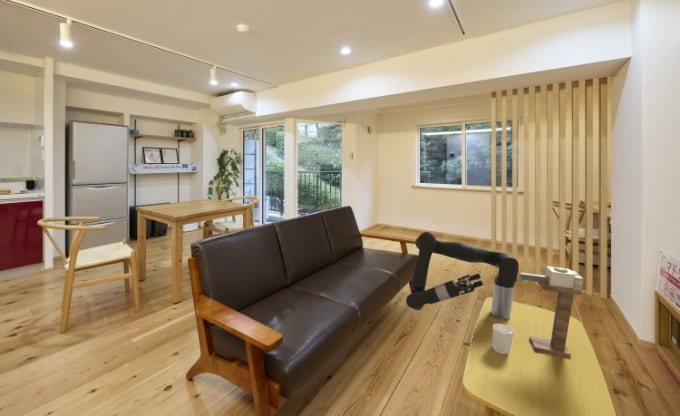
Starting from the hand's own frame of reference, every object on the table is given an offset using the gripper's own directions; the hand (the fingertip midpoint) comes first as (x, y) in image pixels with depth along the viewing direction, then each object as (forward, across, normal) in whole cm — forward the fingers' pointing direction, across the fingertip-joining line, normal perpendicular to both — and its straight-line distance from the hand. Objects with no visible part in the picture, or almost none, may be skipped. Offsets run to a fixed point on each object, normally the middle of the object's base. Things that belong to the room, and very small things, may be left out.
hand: (481, 278), depth 137 cm
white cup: (-6, -9, +29) cm, 31 cm away
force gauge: (+22, 0, +10) cm, 25 cm away
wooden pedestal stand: (+12, 0, +39) cm, 41 cm away
